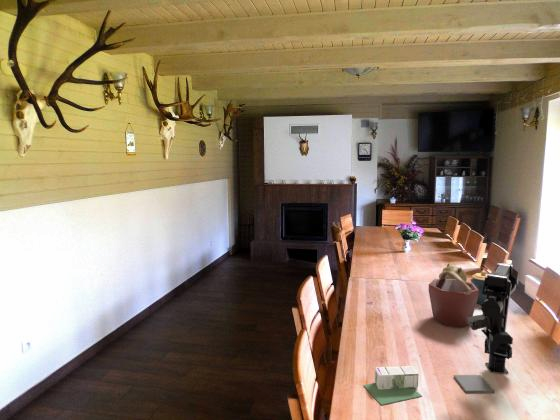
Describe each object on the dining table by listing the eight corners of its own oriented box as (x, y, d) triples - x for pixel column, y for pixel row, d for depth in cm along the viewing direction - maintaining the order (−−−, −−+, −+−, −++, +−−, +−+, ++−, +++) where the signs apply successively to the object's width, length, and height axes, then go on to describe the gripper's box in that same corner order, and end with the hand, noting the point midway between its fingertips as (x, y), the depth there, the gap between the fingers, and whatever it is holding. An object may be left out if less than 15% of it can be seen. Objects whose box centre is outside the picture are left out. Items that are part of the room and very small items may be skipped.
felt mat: (401, 378, 149) (401, 377, 149) (421, 396, 138) (421, 395, 138) (363, 386, 144) (363, 385, 144) (381, 405, 133) (381, 404, 133)
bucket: (481, 333, 186) (484, 281, 183) (431, 329, 190) (433, 279, 187) (467, 313, 210) (470, 267, 206) (423, 310, 214) (425, 265, 211)
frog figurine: (432, 280, 265) (434, 262, 264) (454, 279, 271) (456, 262, 270) (447, 286, 252) (449, 268, 251) (469, 285, 258) (472, 268, 257)
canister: (488, 297, 233) (490, 268, 230) (498, 305, 220) (500, 274, 217) (465, 296, 234) (467, 267, 232) (474, 304, 221) (476, 274, 219)
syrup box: (413, 365, 147) (374, 366, 146) (419, 373, 141) (378, 375, 140) (412, 379, 148) (373, 380, 147) (418, 388, 142) (378, 390, 141)
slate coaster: (453, 377, 150) (453, 375, 149) (480, 376, 149) (480, 374, 149) (465, 392, 140) (465, 390, 140) (494, 392, 139) (494, 390, 139)
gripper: (463, 300, 150) (460, 340, 151) (479, 316, 132) (475, 362, 133) (494, 302, 148) (491, 343, 150) (515, 320, 130) (511, 366, 131)
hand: (491, 352), depth 141 cm, fingers closed
